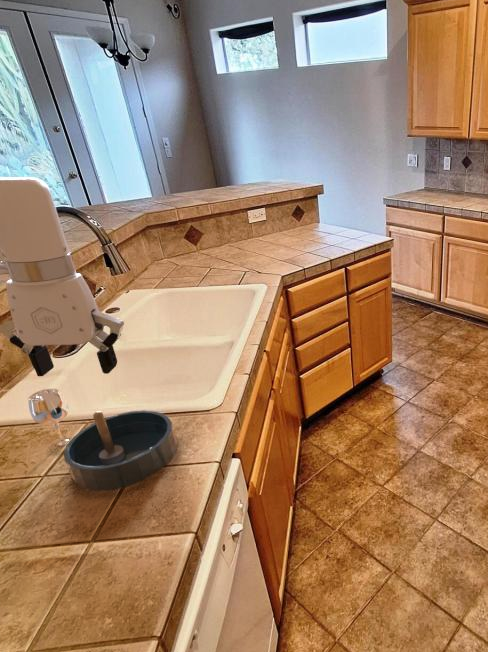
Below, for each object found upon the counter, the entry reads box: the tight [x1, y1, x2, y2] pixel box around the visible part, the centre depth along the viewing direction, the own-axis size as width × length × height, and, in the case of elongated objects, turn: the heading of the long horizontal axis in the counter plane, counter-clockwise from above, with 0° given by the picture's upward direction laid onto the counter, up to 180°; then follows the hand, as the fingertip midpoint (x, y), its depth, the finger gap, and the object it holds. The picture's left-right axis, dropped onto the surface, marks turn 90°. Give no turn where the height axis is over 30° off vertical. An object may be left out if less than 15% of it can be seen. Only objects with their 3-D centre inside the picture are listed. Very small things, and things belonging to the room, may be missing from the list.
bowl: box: [63, 409, 178, 492], centre depth 83 cm, size 18×18×6 cm
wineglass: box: [28, 388, 70, 446], centre depth 85 cm, size 6×6×12 cm
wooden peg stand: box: [92, 410, 125, 465], centre depth 81 cm, size 4×4×11 cm
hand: (78, 370), depth 70 cm, fingers open, 9 cm apart
